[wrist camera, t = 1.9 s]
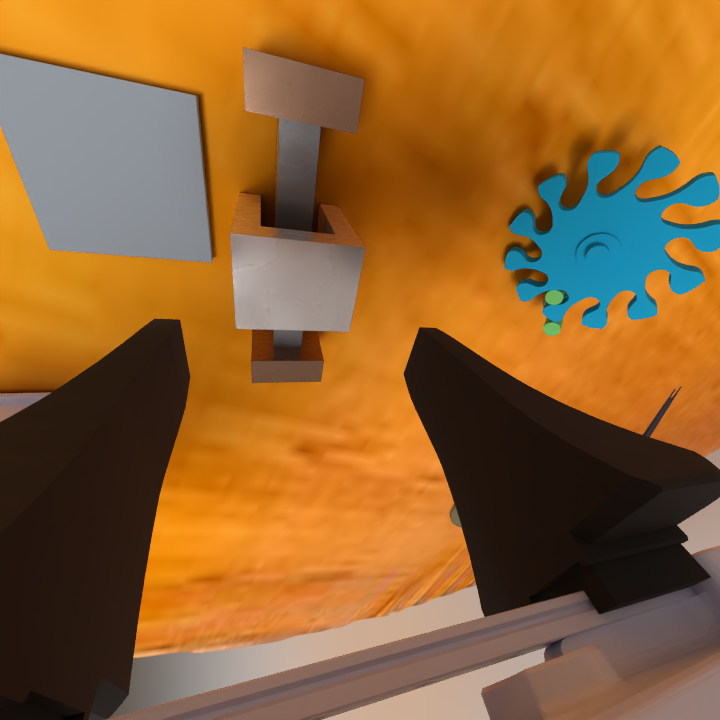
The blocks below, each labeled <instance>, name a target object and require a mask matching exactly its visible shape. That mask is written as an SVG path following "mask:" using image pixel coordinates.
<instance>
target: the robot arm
mask: <svg viewBox="0 0 720 720" xmlns="http://www.w3.org/2000/svg"><path fill="white" fill-rule="evenodd" d="M404 377H405V380H406V384H407V388H408V391H409V394H410V397H411V400H412V402H413V404H414V406H415V409H416V411H417V413H418V415H419V417H420V419H421V422H422V424H423V426H424V428H425V430H426V432H427V434H428V436H429V438H430V440H431V443H432V445H433V447H434V449H435V451H436V453H437V455H438V458H439V460H440V463H441V465H442V468H443V471H444V473H445V476H446V479H447V482H448V485H449V488H450V491H451V494H452V497H453V500H454V503H455V506H456V510H457V513H458V516H459V519H460V523H461V526H462V530H463V533H464V537H465V541H466V544H467V548H468V552H469V555H470V560H471V564H472V568H473V572H474V576H475V581H476V585H477V589H478V594H479V598H480V603H481V608H482V611H483V614H484V616H485V617H484V618H480V619H476V620H472V621H469V622H465V623H461V624H458V625H454V626H450V627H447V628H443V629H439V630H435V631H432V632H428V633H424V634H421V635H417V636H413V637H410V638H406V639H402V640H399V641H395V642H391V643H387V644H384V645H380V646H376V647H373V648H369V649H365V650H362V651H358V652H354V653H350V654H346V655H343V656H339V657H335V658H332V659H328V660H324V661H321V662H317V663H313V664H309V665H306V666H302V667H298V668H295V669H291V670H287V671H284V672H280V673H276V674H273V675H269V676H265V677H262V678H258V679H254V680H250V681H247V682H243V683H239V684H236V685H232V686H228V687H225V688H221V689H217V690H213V691H210V692H206V693H202V694H199V695H195V696H191V697H187V698H184V699H180V700H176V701H172V702H169V703H165V704H161V705H158V706H154V707H150V708H146V709H143V710H139V711H136V712H132V713H128V714H124V715H121V716H117V717H113V718H109V717H110V716H111V715H112V714H113V713H114V712H115V711H116V710H117V708H118V707H119V706H120V705H121V704H122V703H123V701H124V700H125V699H126V697H127V696H128V694H129V686H130V678H131V670H132V662H133V655H134V648H135V640H136V632H137V625H138V618H139V611H140V605H141V598H142V592H143V585H144V579H145V572H146V566H147V561H148V555H149V549H150V543H151V537H152V532H153V526H154V521H155V516H156V511H157V505H158V500H159V495H160V491H161V487H162V483H163V479H164V476H165V473H166V469H167V466H168V463H169V460H170V456H171V453H172V450H173V447H174V444H175V440H176V437H177V434H178V430H179V427H180V424H181V421H182V417H183V414H184V410H185V407H186V401H187V394H188V388H189V381H190V373H189V368H188V362H187V357H186V351H185V345H184V340H183V334H182V328H181V323H180V320H173V319H154V320H152V321H151V322H149V323H148V324H147V325H145V326H144V327H143V328H142V329H140V330H139V331H138V332H136V333H135V334H134V335H133V336H131V337H130V338H129V339H128V340H126V341H125V342H124V343H122V344H121V345H120V346H118V347H117V348H116V349H114V350H113V351H112V352H110V353H109V354H108V355H106V356H105V357H104V358H102V359H101V360H100V361H98V362H97V363H95V364H94V365H92V366H91V367H89V368H88V369H86V370H85V371H83V372H82V373H81V374H79V375H78V376H76V377H75V378H73V379H72V380H70V381H69V382H67V383H66V384H64V385H63V386H61V387H60V388H58V389H57V390H55V391H53V392H46V393H2V394H0V720H322V719H325V718H328V717H331V716H334V715H337V714H340V713H344V712H347V711H350V710H353V709H356V708H359V707H362V706H365V705H368V704H372V703H375V702H378V701H381V700H384V699H387V698H390V697H393V696H396V695H399V694H402V693H406V692H409V691H412V690H415V689H418V688H421V687H424V686H427V685H431V684H433V683H437V682H440V681H443V680H446V679H449V678H452V677H455V676H458V675H461V674H464V673H468V672H471V671H474V670H477V669H480V668H483V667H486V666H489V665H493V664H496V663H499V662H502V661H505V660H508V659H511V658H514V657H517V656H520V655H524V654H526V653H530V652H533V651H536V650H539V649H542V648H545V647H547V648H546V649H545V653H544V658H545V662H544V663H541V664H538V665H536V666H533V667H531V668H528V669H525V670H523V671H521V672H519V673H517V674H516V675H513V676H511V677H509V678H507V679H504V680H502V681H500V682H497V683H495V684H492V685H490V686H487V687H485V688H483V689H482V693H481V695H482V697H483V700H484V703H485V706H486V709H487V711H488V714H489V717H490V720H720V546H717V547H713V548H709V549H706V550H702V551H700V552H697V553H694V554H692V555H691V554H690V553H689V552H688V551H687V550H686V549H685V548H684V547H683V546H682V545H681V543H684V542H686V541H688V537H687V535H686V534H685V533H684V532H683V531H682V530H681V529H680V528H679V527H678V526H677V524H679V523H681V522H682V521H684V520H686V519H687V518H689V517H690V516H692V515H693V514H695V513H696V512H698V511H700V510H701V509H703V508H705V507H706V506H708V505H709V504H711V503H712V502H713V501H715V500H717V499H718V498H719V497H720V469H718V468H717V467H716V466H715V465H714V464H712V463H711V462H710V461H709V460H707V459H706V458H704V457H703V456H701V455H699V454H698V453H696V452H694V451H691V450H688V449H685V448H682V447H678V446H675V445H672V444H669V443H666V442H662V441H659V440H656V439H653V438H650V437H647V436H643V435H640V434H638V433H635V432H632V431H629V430H627V429H624V428H621V427H618V426H616V425H613V424H610V423H608V422H605V421H603V420H600V419H598V418H595V417H593V416H590V415H588V414H586V413H584V412H581V411H579V410H577V409H574V408H572V407H570V406H568V405H565V404H563V403H561V402H559V401H557V400H555V399H553V398H551V397H549V396H547V395H545V394H543V393H541V392H539V391H537V390H535V389H533V388H532V387H530V386H528V385H526V384H524V383H523V382H521V381H519V380H517V379H516V378H514V377H512V376H511V375H509V374H507V373H506V372H504V371H502V370H501V369H499V368H498V367H496V366H495V365H493V364H491V363H490V362H488V361H487V360H485V359H484V358H482V357H481V356H479V355H478V354H476V353H475V352H473V351H472V350H470V349H469V348H467V347H466V346H464V345H463V344H461V343H460V342H458V341H457V340H455V339H454V338H452V337H451V336H449V335H447V334H446V333H444V332H442V331H441V330H439V329H437V328H419V331H418V334H417V336H416V339H415V342H414V345H413V348H412V351H411V354H410V357H409V360H408V363H407V366H406V368H405V371H404ZM108 718H109V719H108Z"/></svg>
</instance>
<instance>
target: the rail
mask: <svg viewBox="0 0 720 720" xmlns="http://www.w3.org/2000/svg"><path fill="white" fill-rule="evenodd" d="M243 61H244V100H245V111H249V112H254V113H259V114H263V115H268V116H273V117H277V135H276V180H275V226H274V228H281V229H290V230H298V231H307V232H312V221H313V210H314V199H315V187H316V176H317V165H318V154H319V143H320V131H321V127H325V128H330V129H335V130H340V131H344V132H349V133H354V134H357V129H358V122H359V116H360V109H361V102H362V95H363V88H364V81H365V79H362V78H358V77H354V76H351V75H347V74H343V73H339V72H335V71H332V70H328V69H324V68H320V67H316V66H313V65H309V64H305V63H301V62H297V61H294V60H290V59H286V58H282V57H278V56H275V55H271V54H267V53H263V52H259V51H256V50H252V49H248V48H244V47H243ZM323 363H324V360H323V355H322V351H321V346H320V342H319V338H318V333H317V331H302V330H264V329H253V331H252V355H251V371H252V383H270V382H321V377H322V370H323Z"/></svg>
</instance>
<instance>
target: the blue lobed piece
mask: <svg viewBox="0 0 720 720" xmlns="http://www.w3.org/2000/svg"><path fill="white" fill-rule="evenodd" d="M619 159H620V152H617V151H613V150H602V151H595V152H594V153H593V154H592V155H591V157H590V159H589V161H588V164H587V170H588V175H589V181H588V186H587V189H586V191H585V193H584V195H583V197H582V198H581V200H580V201H579V203H578V204H577V205H575V206H573V207H564V206H563V205H562V204H561V202H560V197H561V195H562V193H563V191H564V189H565V188H566V185H567V177H566V175H565V174H564V173H560V174H556V175H554V176H552V177H550V178H548V179H546V180H545V181H543V182H541V184H540V185H539V187H538V192H539V195H540V196H541V198H543V199H544V200H545V201H546V202H547V203H548V205H549V206H550V208H551V211H552V217H553V226H552V228H551V229H549V230H547V231H540V230H538V229H537V228H536V224H535V215H534V213H533V212H532V211H531V210H529V209H525V210H523V211H522V212H521V213H520V214H519V215H518V216H517V217H516V219H515V220H514V221H513V222H512V224H511V225H510V227H509V228H510V230H511V231H512V232H513V233H514V234H517V235H523V236H526V237H528V238H530V239H532V240H533V241H534V242H535V243H536V244H537V245H538V246H539V248H540V249H541V251H542V255H541V256H540V257H538V258H531V257H529V256H528V255H527V253H526V252H525V251H524V250H523V249H522V248H520V247H512V248H511V249H510V251H509V252H508V254H507V256H506V260H505V268H506V269H507V270H511V271H514V270H518V269H523V268H530V269H535V270H538V271H541V272H543V273H545V274H546V275H547V276H548V280H547V281H544V282H537V281H535V280H532V279H528V278H527V279H523V280H521V281H520V282H519V283H518V285H517V294H518V296H519V298H520V300H521V301H529V300H531V299H532V298H534V297H535V296H536V295H538V294H540V293H542V292H546V291H547V293H546V296H545V298H544V301H543V307H544V308H543V311H542V312H543V314H544V315H545V316H546V317H547V319H546V321H545V324H544V327H543V331H544V333H545V334H547V335H549V336H555V335H557V334H559V333H560V331H561V327H562V323H563V317H564V315H565V313H566V311H567V310H568V309H569V308H570V307H571V306H572V305H573V304H575V303H576V302H578V301H580V300H582V299H584V298H587V297H594V298H597V299H598V300H599V301H600V302H599V303H598V304H597V305H595V306H592V307H590V308H588V309H587V310H585V312H584V313H583V317H582V324H583V325H585V326H588V327H592V328H599V329H602V328H604V327H605V326H606V324H607V316H608V314H607V307H608V305H609V303H610V302H611V300H612V299H613V298H614V297H615V296H616V295H617V294H618V293H619V292H621V291H626V290H628V291H632V292H634V293H635V294H636V295H635V296H634V298H633V299H632V300H631V301H630V302H629V304H628V316H629V318H630V319H633V320H637V319H644V318H649V317H653V316H656V314H657V304H656V301H655V300H654V299H653V298H652V297H651V296H650V295H649V294H648V293H647V291H646V289H645V281H646V277H647V275H648V274H649V273H651V272H653V271H655V270H661V269H662V270H667V271H668V272H669V273H670V275H669V284H670V288H671V290H672V291H673V292H674V293H677V294H680V295H681V294H684V293H687V292H689V291H691V290H692V289H694V288H695V287H697V286H698V285H700V284H701V283H702V282H704V281H705V278H704V275H703V272H702V271H701V269H700V268H698V267H696V266H690V265H685V264H682V263H679V262H677V261H675V260H674V259H673V258H671V257H670V256H669V254H668V253H667V252H666V250H665V249H664V248H665V246H666V244H667V243H668V242H669V241H671V240H673V239H675V238H679V237H685V238H688V239H690V240H691V241H692V243H693V244H694V246H695V247H696V248H697V249H698V250H700V251H703V252H712V251H716V250H717V249H718V248H719V247H720V220H710V221H707V222H703V223H698V224H678V223H673V222H670V221H667V220H664V219H662V218H661V214H662V212H663V211H664V210H665V209H666V208H667V207H668V206H670V205H672V204H675V203H684V204H688V205H691V206H696V207H701V206H706V205H709V204H711V203H713V202H715V201H716V200H718V197H719V184H718V181H717V178H716V175H715V174H714V173H713V172H707V173H702V174H700V175H697V176H696V177H694V178H692V179H691V180H690V181H689V182H687V183H686V184H685V185H683V186H682V187H680V188H678V189H677V190H675V191H673V192H670V193H668V194H665V195H661V196H657V197H652V198H647V199H641V198H638V197H637V196H636V195H635V191H636V189H637V187H638V186H639V185H640V184H642V183H643V182H645V181H648V180H651V179H656V178H661V177H664V176H666V175H668V174H670V173H672V172H673V171H674V170H675V169H676V168H677V167H678V165H679V163H680V161H679V159H678V157H677V156H676V155H675V154H674V153H673V152H672V151H671V150H669V149H667V148H665V147H663V146H661V145H659V146H657V147H655V148H654V149H652V150H651V151H650V152H649V153H648V154H647V156H646V157H645V159H644V161H643V164H642V166H641V167H640V169H639V170H638V172H637V173H636V174H635V175H634V177H633V178H632V179H631V180H629V181H628V182H627V183H626V184H625V185H623V186H622V187H620V188H619V189H617V190H616V191H614V192H613V193H610V194H606V195H605V194H601V193H599V192H598V190H597V184H598V183H599V181H600V180H602V179H603V178H604V177H606V176H607V175H609V174H610V173H611V172H612V171H614V169H615V168H616V167H617V165H618V163H619Z"/></svg>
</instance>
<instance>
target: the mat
mask: <svg viewBox="0 0 720 720" xmlns="http://www.w3.org/2000/svg"><path fill="white" fill-rule="evenodd" d="M0 126H1V128H2V131H3V133H4V136H5V138H6V141H7V143H8V146H9V148H10V151H11V154H12V156H13V159H14V161H15V164H16V166H17V169H18V171H19V174H20V176H21V179H22V181H23V184H24V186H25V189H26V191H27V194H28V196H29V199H30V201H31V204H32V206H33V209H34V212H35V214H36V217H37V219H38V222H39V224H40V227H41V229H42V232H43V234H44V237H45V239H46V242H47V244H48V247H49V249H50V250H61V251H74V252H86V253H99V254H111V255H124V256H136V257H149V258H161V259H173V260H186V261H198V262H211V263H212V260H213V252H212V241H211V230H210V220H209V209H208V198H207V187H206V177H205V166H204V155H203V144H202V134H201V123H200V112H199V101H198V96H197V95H193V94H188V93H183V92H179V91H174V90H169V89H165V88H160V87H155V86H151V85H146V84H141V83H137V82H132V81H127V80H123V79H118V78H113V77H109V76H104V75H99V74H95V73H90V72H85V71H81V70H76V69H71V68H67V67H62V66H57V65H53V64H48V63H43V62H39V61H34V60H29V59H25V58H20V57H15V56H11V55H6V54H1V53H0Z"/></svg>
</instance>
